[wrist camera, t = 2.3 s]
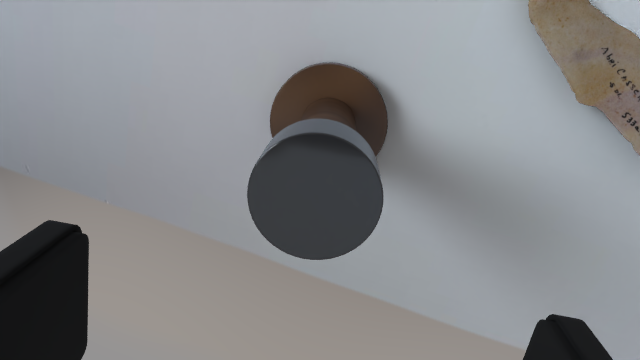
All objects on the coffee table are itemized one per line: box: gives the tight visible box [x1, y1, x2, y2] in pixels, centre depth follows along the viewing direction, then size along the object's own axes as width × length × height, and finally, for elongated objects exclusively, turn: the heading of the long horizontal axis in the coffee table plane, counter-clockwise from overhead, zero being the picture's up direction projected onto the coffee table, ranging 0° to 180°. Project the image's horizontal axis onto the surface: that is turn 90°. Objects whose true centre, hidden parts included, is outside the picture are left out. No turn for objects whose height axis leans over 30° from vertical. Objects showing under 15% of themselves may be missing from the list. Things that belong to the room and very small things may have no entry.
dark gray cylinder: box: [247, 119, 383, 260], centre depth 18 cm, size 5×5×2 cm
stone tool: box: [528, 0, 640, 155], centre depth 27 cm, size 5×2×15 cm
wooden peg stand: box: [270, 63, 388, 157], centre depth 24 cm, size 7×7×11 cm
